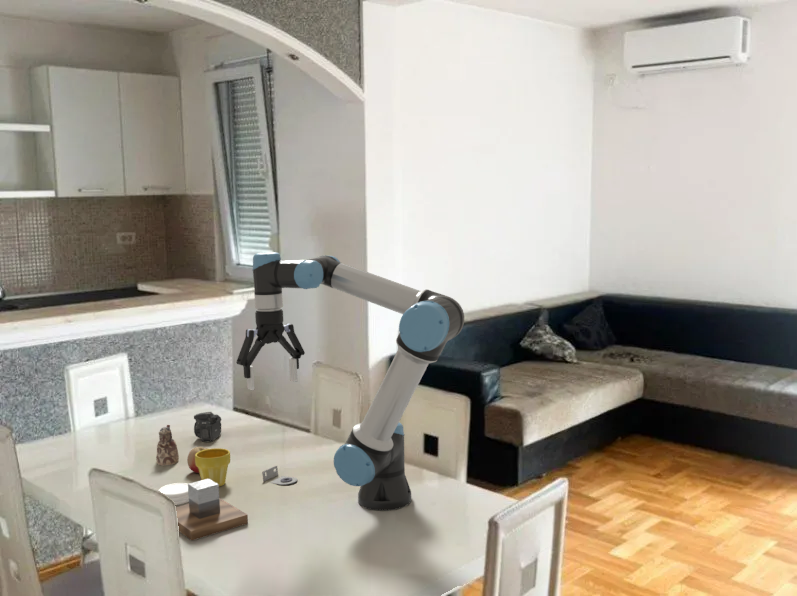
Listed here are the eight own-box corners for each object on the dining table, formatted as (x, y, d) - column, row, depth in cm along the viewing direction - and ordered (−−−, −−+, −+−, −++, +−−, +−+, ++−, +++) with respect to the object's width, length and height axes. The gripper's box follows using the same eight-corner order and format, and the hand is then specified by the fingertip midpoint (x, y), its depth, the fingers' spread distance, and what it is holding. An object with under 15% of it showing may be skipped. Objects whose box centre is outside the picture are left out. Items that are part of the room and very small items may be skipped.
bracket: (287, 488, 241) (287, 477, 241) (262, 482, 247) (262, 471, 247) (301, 481, 247) (301, 470, 246) (277, 475, 252) (276, 465, 252)
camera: (194, 434, 298) (192, 408, 297) (221, 431, 301) (220, 405, 299) (194, 444, 285) (193, 417, 284) (223, 442, 288) (222, 414, 287)
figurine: (152, 464, 265) (150, 429, 263) (163, 457, 272) (161, 423, 270) (172, 466, 263) (169, 430, 261) (182, 459, 270) (180, 424, 268)
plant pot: (217, 475, 253) (215, 445, 251) (238, 482, 246) (237, 451, 245) (189, 485, 245) (187, 454, 243) (211, 492, 238) (209, 460, 237)
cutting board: (247, 523, 215) (247, 514, 214) (191, 540, 205) (191, 531, 204) (217, 504, 229) (216, 496, 228) (163, 519, 219) (162, 510, 218)
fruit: (205, 477, 252) (204, 452, 251) (183, 474, 254) (182, 450, 253) (219, 468, 259) (217, 444, 258) (197, 466, 262) (196, 442, 261)
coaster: (156, 496, 236) (155, 485, 236) (191, 491, 240) (190, 480, 240) (160, 508, 227) (159, 496, 227) (196, 503, 231) (195, 491, 230)
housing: (220, 513, 216) (218, 484, 215) (199, 519, 212) (197, 489, 211) (210, 506, 221) (208, 478, 220) (189, 512, 217) (187, 483, 216)
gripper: (300, 303, 231) (303, 375, 234) (221, 313, 215) (225, 390, 218) (314, 305, 225) (317, 379, 228) (234, 315, 209) (239, 395, 212)
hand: (272, 385), depth 223 cm, fingers open, 13 cm apart
